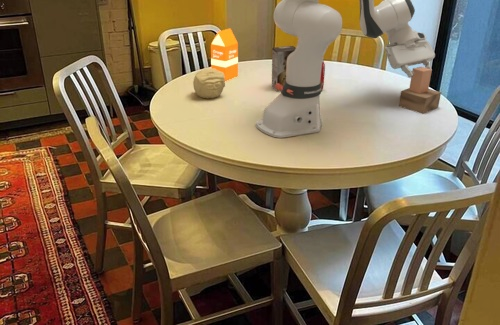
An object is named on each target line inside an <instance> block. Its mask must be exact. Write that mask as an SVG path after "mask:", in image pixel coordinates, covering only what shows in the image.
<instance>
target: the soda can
mask: <svg viewBox="0 0 500 325" xmlns="http://www.w3.org/2000/svg"><path fill="white" fill-rule="evenodd" d="M325 71H326V63H325V60H324V59H323V61H322V68H321V78H320V82H321V91H322V90H323V89H324V84H325V76H326V73H325Z"/></svg>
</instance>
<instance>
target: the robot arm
mask: <svg viewBox="0 0 500 325" xmlns="http://www.w3.org/2000/svg"><path fill="white" fill-rule="evenodd" d="M319 1H320V0H281V1H279V2H278V3H277V5H275V6H276V7H275V8H274V12H273V21H274V23H275V25H276V27H277V28H278V29H279V30H281V31H282V32H284V33H286V34H287V35H290V36H293V37H296V38H297V43H296V46H295V47H296V49H295V51H294V52H292V53H291V54H290V55H289V56H288V58H287V67H286V80H285V82H284V84H283V85H281V84H279V83H277V84H276V85H275V88H276V89H277V90H279V91H278V92H280V93H279V94H278V95H277V96H276V97H275V98H274V99H273V100H272V101H271V102H270V103H269V104H268V105H267V106H265V108H264V111H263V115H262V118H261V119H260V120H256V121H255V126H256V129H258V130H259V131H261V132H262V133H264V134H266V135H268V136H270V137H274V138H279V139H282V138H283V139H284V138H288V137H296V136H301V135H308V134H314V133H319V132H321V126H322V125H323V121H322V117H321V108H320V107H321V106H320V105H321V102H320V101H321V100H320V97H321V96H320V95H321V93H322V90H321V82H320V78H321V68H322V61H323V60H324V57H325V53H326V51H327V49H328V47H329V46H330V45H331V44H332V43H333V42H334V41H335V40H337V39H338V37H339V36H340V34H341V33H342V29H343V18H342V15H341V13H340V12H339V11H338V10H336V9H334V8H333V7H331V6H329V5H327V4H323V3H319ZM358 1H359V2H358V3H359V27H360V29H361V32H362V34H363V35H364V36H365V37H368V38H371V39H377V38H379V37H381V36H383V35H384V34H385V35H386V37H387V40H388V42H389V43H387V44H386V45H385V47H384V51H385V52H386V57H387V61H388V62H389V63H388V64H389V66H390V67H391V68H392V69H394V70H396V69H401V71H402V72H403V73H405V74H406V75H407V78H409V79H411V77H413V76H414V72H413V71H412V70H411V69H410V68H409V67H411V66H416V65H421V64H422V65H423V66H424V68H428V69H431V70H432V71H433V69H432V68H431V61H432V60H434V59H435V57H436V53H435V51H434V48H433V47H432V45H431V44H430V42H429V41H428V40H427V35H426V33H424V32H420V31H416V30H413V28H412V27H411V26H410V24H409V22H411V21H412V19H413V17H414V15H415V12H416V11H415V10H416V9H415V6H414V4H413V3H412V1H411V0H382V1H381V2H380V3H379V4H378V5H375V1H374V0H358Z"/></svg>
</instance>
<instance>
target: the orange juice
mask: <svg viewBox="0 0 500 325" xmlns="http://www.w3.org/2000/svg"><path fill="white" fill-rule="evenodd" d="M238 47H239V43H238V41H237V39H236V37H235V34H234V33H233V30H232V29H231V28H227V29H223V30H219V31H217V33H216V35H215V36H214V39H212V42H211V44H210V65H211V66H210V67H211V68H210V69H213V68H215V69H216V70H218V71H221V72H223V73H224V75H225V81H226V82H228V81H230V80H229V79H231V80H233V79H235V78H234V77H236V78H238V77H239V48H238ZM237 76H238V77H237ZM232 78H233V79H232ZM227 80H228V81H227Z"/></svg>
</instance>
